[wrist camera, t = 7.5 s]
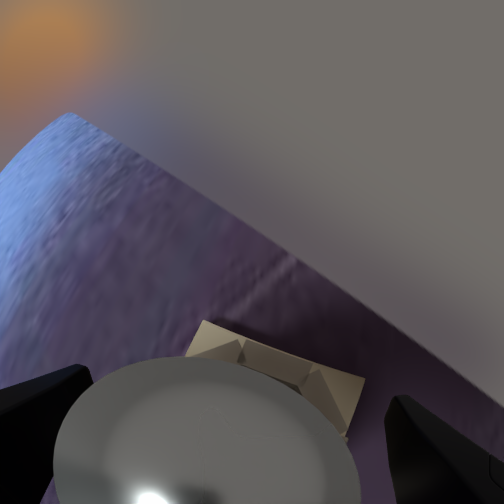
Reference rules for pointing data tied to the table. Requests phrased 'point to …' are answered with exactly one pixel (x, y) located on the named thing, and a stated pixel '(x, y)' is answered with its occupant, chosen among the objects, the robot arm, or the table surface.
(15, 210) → the table surface
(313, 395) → the cup bracket
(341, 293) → the table surface
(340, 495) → the grey glossy cylinder
